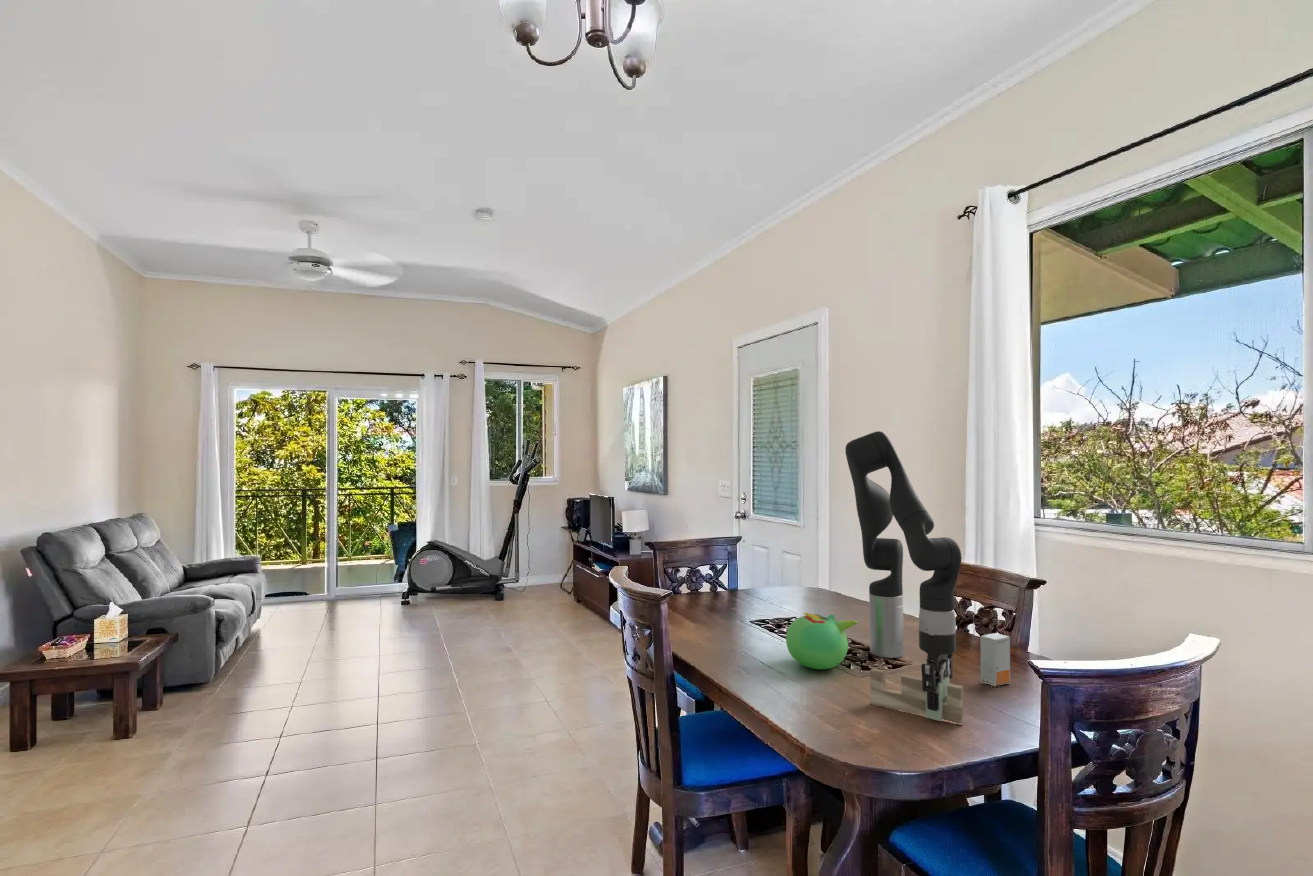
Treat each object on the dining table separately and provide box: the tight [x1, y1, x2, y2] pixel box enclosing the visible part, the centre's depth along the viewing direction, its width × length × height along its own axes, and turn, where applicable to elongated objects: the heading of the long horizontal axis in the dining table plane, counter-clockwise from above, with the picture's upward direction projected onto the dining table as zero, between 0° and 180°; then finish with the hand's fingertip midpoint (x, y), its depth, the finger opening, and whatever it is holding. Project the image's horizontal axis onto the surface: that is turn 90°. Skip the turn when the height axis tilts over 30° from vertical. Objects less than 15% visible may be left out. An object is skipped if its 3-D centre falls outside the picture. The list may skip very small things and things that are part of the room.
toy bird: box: [785, 612, 858, 670], centre depth 187 cm, size 18×17×15 cm
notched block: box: [926, 676, 949, 722], centre depth 151 cm, size 6×3×8 cm, turn 140°
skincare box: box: [979, 632, 1011, 685], centre depth 173 cm, size 6×4×12 cm
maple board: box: [869, 667, 965, 723], centre depth 154 cm, size 2×20×8 cm, turn 50°
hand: (938, 704), depth 150 cm, fingers closed on notched block, 6 cm apart
